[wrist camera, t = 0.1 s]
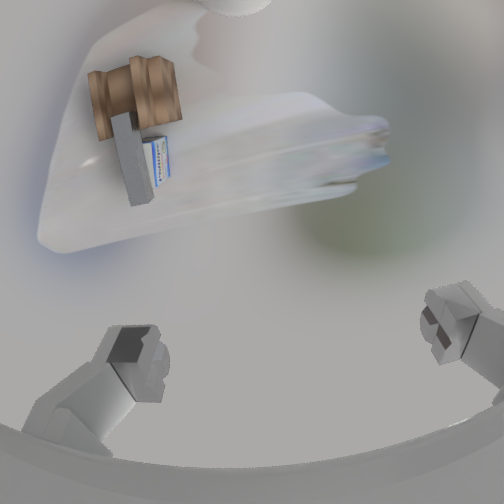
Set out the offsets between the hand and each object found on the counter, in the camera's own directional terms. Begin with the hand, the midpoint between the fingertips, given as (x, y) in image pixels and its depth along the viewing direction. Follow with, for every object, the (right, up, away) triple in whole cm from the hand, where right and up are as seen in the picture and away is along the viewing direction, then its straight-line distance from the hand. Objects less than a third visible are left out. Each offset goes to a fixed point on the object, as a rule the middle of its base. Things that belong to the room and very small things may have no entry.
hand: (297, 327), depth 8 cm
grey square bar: (-19, +17, +34) cm, 42 cm away
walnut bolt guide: (-20, +30, +38) cm, 52 cm away
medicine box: (-19, +20, +44) cm, 51 cm away
